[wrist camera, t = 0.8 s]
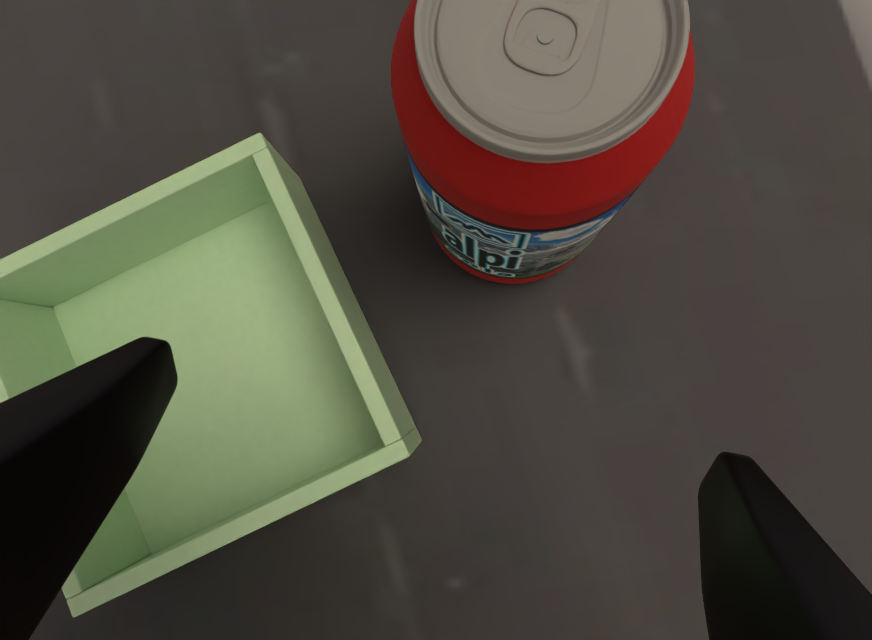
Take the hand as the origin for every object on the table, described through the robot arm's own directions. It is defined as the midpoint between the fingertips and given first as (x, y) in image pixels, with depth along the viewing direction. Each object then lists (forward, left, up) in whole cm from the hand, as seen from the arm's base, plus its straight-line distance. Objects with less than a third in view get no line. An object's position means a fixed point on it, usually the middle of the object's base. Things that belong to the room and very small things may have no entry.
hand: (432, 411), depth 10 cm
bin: (+5, +8, -13) cm, 16 cm away
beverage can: (+6, -5, -14) cm, 16 cm away
